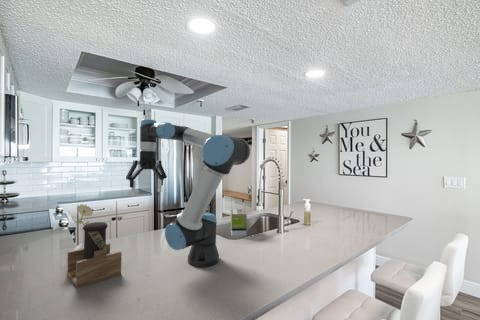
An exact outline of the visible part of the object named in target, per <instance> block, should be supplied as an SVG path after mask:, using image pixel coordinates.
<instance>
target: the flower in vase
mask: <svg viewBox="0 0 480 320" xmlns="http://www.w3.org/2000/svg"><path fill="white" fill-rule="evenodd" d="M76 211H77V212H78V213H79V215H81V219H76V221H75V223H76V224H79V225H80V224H82V225H83V226H84V225H86V224H89V223H91V220H89V221H86V222H85V223H84V222H83V216H85V217H91V216H93V209H92V207H90V206H89V205H87V204H80V205H77V206H76ZM83 226H80V227H79V228H80V230H81V232H82V242H81V243H80V244H78V245H77V246H76V247H74V249H73V250H78V249H82V248H84V234H85V231H84V230H83Z"/></svg>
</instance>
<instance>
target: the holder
mask: <svg viewBox="0 0 480 320" xmlns="http://www.w3.org/2000/svg"><path fill="white" fill-rule="evenodd" d="M122 252H123V251H121V250H118V251H114V252H111V243H110V242H106V249H102V250H97V251H94V257H93V258H89V259H85V260H84V248H82V249H78V250H74V249H73V250H69V251H67V266H66V269H67V270H66V272H67V273H66V274H67V277H68V278H69V279H70V281H71V283H73V285H74V287H75V288H76V289H78V288H81V287H84V286H88V285H91V284H95V283H98V282H101V281H104V280H107V279H111V278H114V277H117V276H119V275H121V274H122Z"/></svg>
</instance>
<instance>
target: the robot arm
mask: <svg viewBox="0 0 480 320" xmlns="http://www.w3.org/2000/svg"><path fill="white" fill-rule="evenodd" d="M139 130H140V131H139V134H140V136H139V137H140V138H139V140H140V141H139V160H137V159H133V160H132V165H131V167H130V168H129V170H128V172H127V174H126V177H125V180H128V181H129V187H130V188H131V190H130V191H131V193H130V194H131V195H133V196H134V195H135V196H136V180H135V179H136V178H137V177H138V176H139V175H140V174H141V172H142V171H144V170H152V171H153V173H154V174H155V175H156V176H157V178H158V179H157V192H158V193H162V186H163V185H164V180H165V179H167V177H168V176H167V174H166V172H165V170H164V167H163V164H162V160H156V158H157V157H156V155H157V152H156V150H157V140H158V139H160V140H161V139H163V140H172V141H179V142H183V143H187V144H191V145H193V146H196V147H199V148H201V149H202V150H201V151H202V158H203V160H202V163H203V166H204V167H203V169H202V171H201V173H200V175H199V177H198V179H197V182H196V184H195V186H194V188H193V190H192V192H191V194H190V197H189V199H188V201H187V202H186V205H185V208H184V209H183V211H181V212H179V213H178V214H177V215H176V218H175V220H174V221H173V222H170V223H169V224H167V225H166V227H165V230H164V237H165V240H166V243H167V244H168V246H169V247H170V248H171V249H172V250H175V251H180V250H184V249H186V248H189V247H190V246H191V247H190V250H189V252H188V255H187V263H188V264H189V265H190V266H193V267H197V268H198V267H199V268H207V267H212V266H215V265H217V264H218V263H219V262H220V253H219V250H218V247H217V223H218V221H217V215H216V214H214V213H211V212H207V210H208V207H209V206H210V204H211V201H212V200H213V198H214V195H215V194H216V192H217V189H218V188H219V186H220V184H221V182H222V180H223V177H224V176H227V175H229V174H230V173H231V170H232V168H233V167H234V166H240V165H242V164H245V162H246V161H247V160H248V159H249V158H250V155H251V147H250V144H249V143H248V142H247V140H245V139H244V138H241V137H236V136H230V135H226V134H212V133H208V132H204V131H201V130H198V129H194V128H192V127H188V126H183V125H182V126H181V125H176V124H172V123H171V122H166V121H164V122H163V121H162V122H157V121H156V120H155V119H146V118H145V119H141V120H140V126H139ZM138 165H139V166H138ZM137 166H138V169H137ZM156 166H157V167H156ZM157 168H158V169H157Z"/></svg>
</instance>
